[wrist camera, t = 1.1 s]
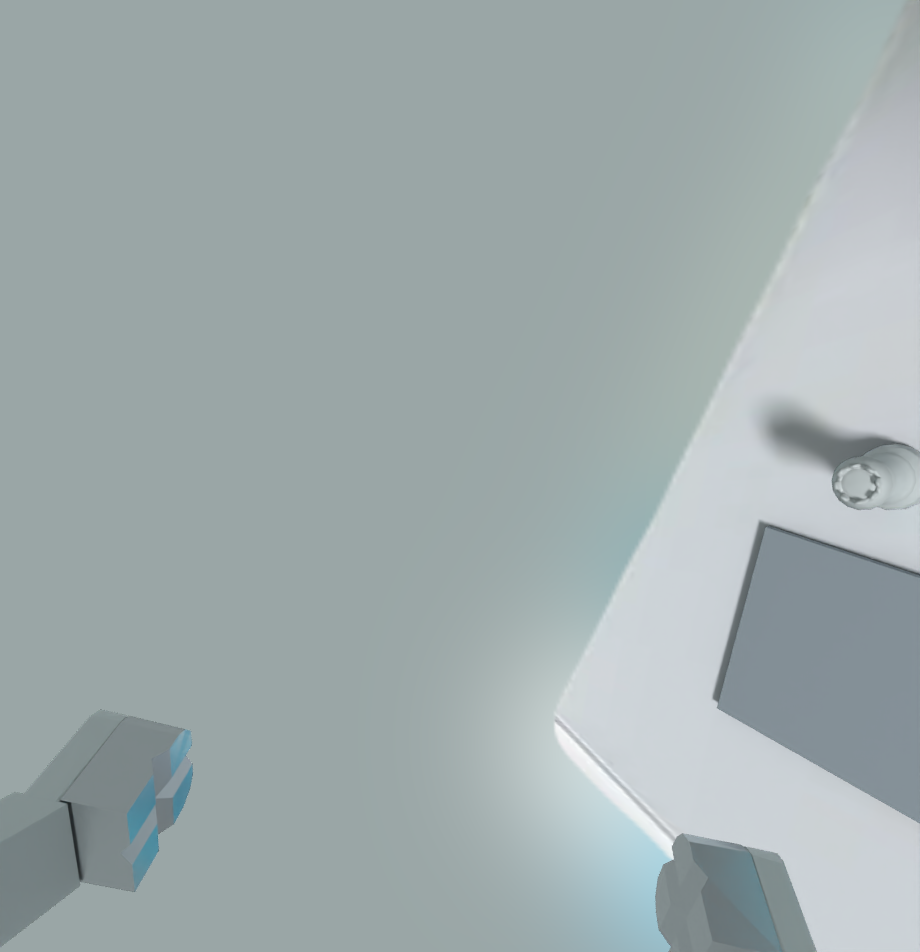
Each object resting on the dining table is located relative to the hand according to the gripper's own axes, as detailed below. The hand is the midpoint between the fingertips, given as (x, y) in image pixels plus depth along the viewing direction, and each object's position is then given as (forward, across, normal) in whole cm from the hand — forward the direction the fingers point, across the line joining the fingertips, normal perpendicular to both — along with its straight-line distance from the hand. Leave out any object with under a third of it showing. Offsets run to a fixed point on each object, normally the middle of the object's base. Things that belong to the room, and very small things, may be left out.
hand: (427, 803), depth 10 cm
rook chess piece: (+35, -28, +4) cm, 45 cm away
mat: (+30, -30, +18) cm, 46 cm away
